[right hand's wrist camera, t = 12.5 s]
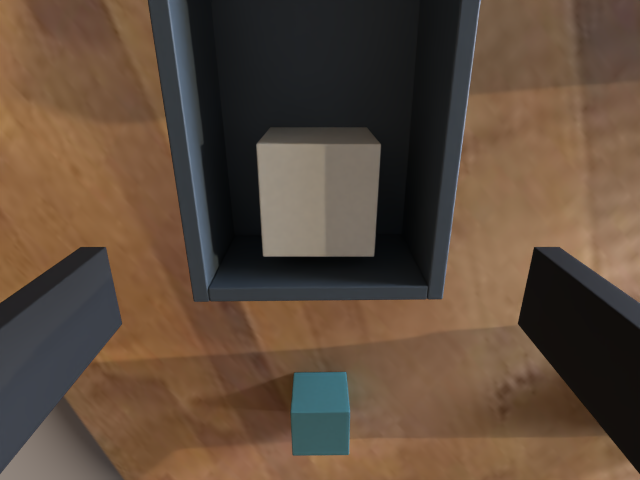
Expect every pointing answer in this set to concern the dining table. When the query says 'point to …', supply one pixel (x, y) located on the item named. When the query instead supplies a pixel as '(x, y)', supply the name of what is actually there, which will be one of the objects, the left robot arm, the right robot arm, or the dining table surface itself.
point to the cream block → (318, 191)
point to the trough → (315, 111)
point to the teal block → (320, 414)
